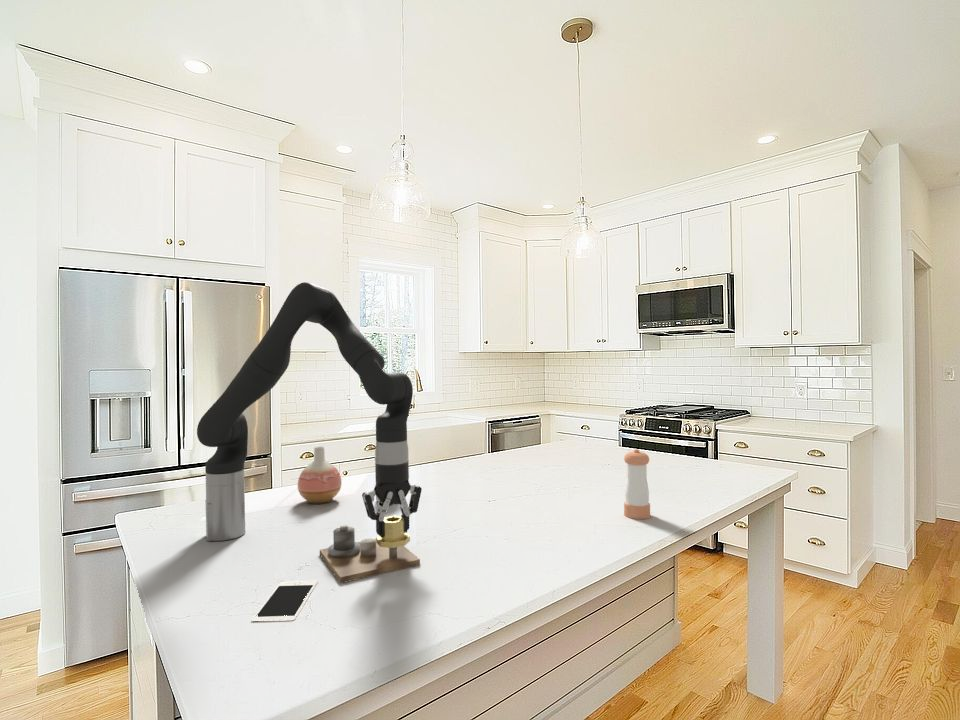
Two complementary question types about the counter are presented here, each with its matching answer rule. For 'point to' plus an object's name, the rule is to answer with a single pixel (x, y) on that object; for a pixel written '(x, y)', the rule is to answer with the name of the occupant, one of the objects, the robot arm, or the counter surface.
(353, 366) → the robot arm
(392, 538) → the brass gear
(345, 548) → the board
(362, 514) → the counter surface
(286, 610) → the cell phone
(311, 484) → the vase
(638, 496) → the salt shaker
